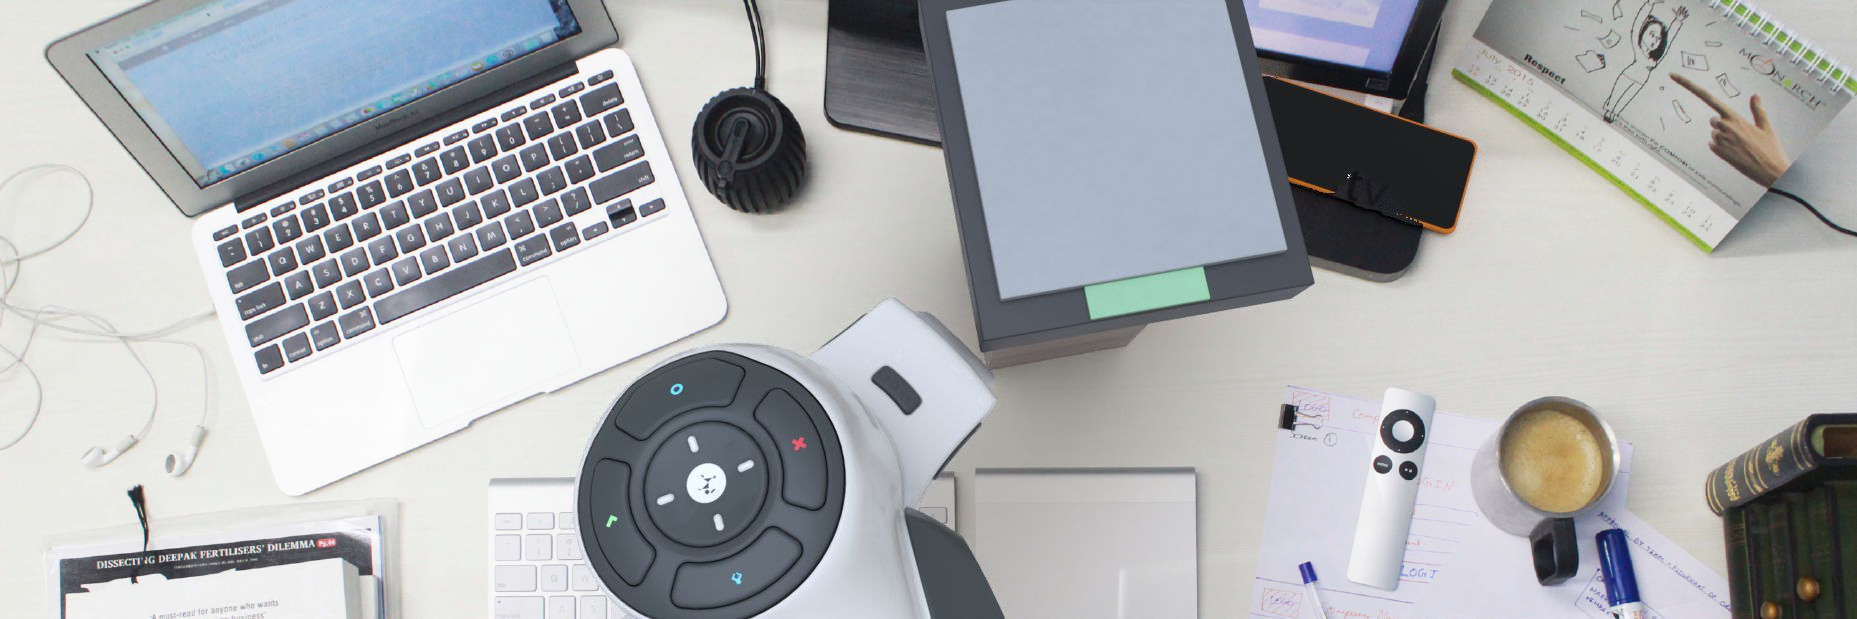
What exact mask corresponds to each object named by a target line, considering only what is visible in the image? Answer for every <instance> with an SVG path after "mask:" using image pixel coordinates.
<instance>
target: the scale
mask: <svg viewBox="0 0 1857 619" xmlns="http://www.w3.org/2000/svg"><path fill="white" fill-rule="evenodd" d="M917 7H918V23H919V29H920V34H921V39H922V45H923V46H922V47H923V50H924V57H925V61H926V66H927V72H928V78H929V83H930V88H931V94H932V100H933V104H934V110H935V115H936V121H937V126H938V132H939V137H940V142H941V147H942V154H943V158H944V163H945V169H946V174H947V179H948V185H949V191H950V196H951V201H952V207H953V213H954V218H955V223H956V228H957V232H958V238H959V239H958V240H959V244H960V249H961V250H960V251H961V256H962V260H963V266H964V272H965V276H966V283H967V286H968V294H969V298H970V304H971V309H972V314H973V319H974V324H975V331H976V335H977V336H976V337H977V340H978V347H979V352H980V353H983V354H984V352H989V351H995V350H1001V349H1007V348H1012V347H1018V346H1024V345H1030V344H1035V343H1041V342H1047V341H1052V340H1058V339H1064V338H1070V337H1075V336H1081V335H1087V334H1093V333H1098V332H1104V331H1110V330H1116V329H1121V328H1127V327H1133V326H1139V325H1144V324H1148V325H1150V324H1155V323H1162V322H1166V321H1173V320H1179V319H1185V318H1190V317H1196V316H1200V315H1201V316H1202V315H1207V314H1212V313H1219V312H1224V311H1229V310H1235V309H1242V308H1247V307H1253V306H1259V305H1265V304H1269V303H1276V302H1282V301H1287V300H1292V299H1293V298H1295V297H1297V296H1299V295H1300V294H1302V293H1303V292H1304V291H1306V290H1307V289H1309V288H1310V287H1312V286H1313V285H1315V282H1316V281H1315V278H1314V274H1313V270H1312V266H1311V262H1310V258H1309V255H1308V250H1307V247H1306V242H1305V238H1304V235H1303V231H1302V227H1301V223H1300V220H1299V216H1298V211H1297V206H1296V203H1295V198H1294V196H1293V191H1292V187H1291V183H1289V179H1288V175H1287V171H1286V167H1285V164H1284V160H1283V156H1282V152H1281V148H1280V144H1279V140H1278V136H1277V132H1276V128H1275V124H1274V120H1273V116H1272V113H1271V109H1270V105H1269V101H1268V97H1267V93H1266V89H1265V85H1264V81H1263V77H1262V73H1263V72H1262V70H1261V66H1260V62H1259V57H1258V53H1257V49H1256V46H1255V43H1254V42H1255V41H1254V38H1253V34H1252V30H1251V27H1250V22H1249V19H1248V16H1247V11H1246V8H1245V3H1244V0H917Z"/></svg>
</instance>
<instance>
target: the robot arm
mask: <svg viewBox="0 0 1857 619" xmlns="http://www.w3.org/2000/svg"><path fill="white" fill-rule="evenodd" d="M995 384H996V376H995V373H994V372H993V370H990V369H989V368H988V367H987V365H986V363H984V362H983V361H982V360H981V359H980V358H979V357H978V356H977V355H976V354H975V353H974V352H973V350H972V349H970V347H968V345H967V344H965V343H964V342H963V341H962V340H961V339H960V338H959V337H958V336H957V335H956V334H955V333H953V331H952V330H951V329H949V327H948V326H946V325H945V324H944V322H942V320H940V319H939V318H937V317H936V316H935V315H934V314H933V313H931V312H928V311H925V310H916V311H914V310H913V309H911V308H910V307H909V306H907V305H906V304H905V303H903V302H902V301H900V300H899V299H898V298H896V297H889V298H886V299H884V300H882V301H880V302H879V303H878V304H876V305H875V306H874V307H872V309H870V310H869V311H868V312H866V313H864V314H862V315H861V316H860V317H858V318H857V319H856V320H855V321H853V322H852V323H851V324H850V325H848V326H846V328H845V329H843V330H842V331H841V332H839V333H838V334H836V335H835V336H833V338H831V339H830V340H828V341H827V342H826V343H824V344H823V345H822V346H820V347H819V348H818V349H817V350H815V351H814V352H812V353H810V354H809V355H807V356H805V355H803V354H801V353H798V352H796V351H794V350H790V349H788V348H783V347H781V346H780V347H779V346H777V345H773V344H767V343H766V344H765V343H758V342H721V343H714V344H713V343H711V344H705V345H701V346H696V347H692V348H689V349H686V350H683V351H680V352H677V353H675V354H672V355H671V356H668V357H667V358H664V359H663V360H661V361H659V362H657V363H655V364H654V365H652V366H651V367H649V368H647V370H645V371H643V372H642V373H640V374H639V375H638V376H637V377H636V378H634V379H633V380H632V381H631V382H629V383H628V384H627V385H626V386H625V387H623V389H622V390H621V391H620V392H619V393H618V394H617V396H615V398H613V400H612V401H611V402H610V403H609V405H607V407H606V409H605V410H604V411H603V413H602V414H601V416H600V417H599V419H598V420H597V421H596V423H595V426H594V427H593V429H592V430H591V433H590V435H589V437H588V439H587V442H586V444H585V446H584V449H583V450H582V454H581V457H580V461H579V464H578V467H577V472H576V476H575V479H574V486H573V494H572V518H573V520H572V522H573V528H574V534H575V538H576V542H577V546H578V549H579V552H580V555H581V557H582V560H583V562H584V564H585V566H586V568H587V570H588V572H589V573H590V575H591V577H592V579H593V580H594V582H595V583H596V584H597V586H598V587H599V589H601V591H602V592H603V593H604V595H606V597H608V599H609V600H610V602H612V604H614V605H615V606H616V607H617V608H618V609H619V610H620V611H622V613H624V615H623V616H622V618H621V619H1006V617H1005V615H1004V612H1003V611H1002V608H1001V606H1000V604H999V601H998V599H997V598H996V595H995V593H994V592H993V589H992V587H991V585H990V583H989V581H988V579H987V577H986V576H985V574H984V571H983V569H982V568H981V566H980V563H979V562H978V561H977V558H976V557H975V555H974V553H973V551H972V549H971V548H970V546H969V545H968V543H967V541H966V539H965V538H964V537H963V535H960V534H959V533H958V532H957V531H954V529H952V528H950V527H949V526H948V525H946V524H944V523H943V522H940V521H939V520H937V519H936V518H934V517H932V516H930V515H928V514H926V513H925V512H922V511H920V510H918V508H919V506H920V504H921V502H922V500H923V498H924V497H925V494H926V493H927V491H928V490H929V488H930V486H931V485H932V483H933V481H937V479H939V478H940V476H941V474H942V473H943V472H944V470H945V469H946V468H947V466H948V465H949V464H950V463H951V461H952V460H953V459H954V457H955V456H956V455H957V454H958V452H960V450H961V449H962V448H963V447H964V446H965V444H966V443H967V442H969V440H970V439H971V438H972V437H973V436H974V435H975V434H976V432H977V431H978V430H979V429H980V428H981V427H982V425H983V424H982V423H983V422H984V421H985V420H986V419H987V418H988V417H989V416H990V415H991V414H992V412H993V411H994V410H995V407H996V406H997V403H998V397H997V396H996V395H995V393H994V392H993V388H994V386H995Z"/></svg>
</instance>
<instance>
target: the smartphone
mask: <svg viewBox="0 0 1857 619" xmlns="http://www.w3.org/2000/svg"><path fill="white" fill-rule="evenodd" d="M1262 77H1263V81H1264V85H1265V89H1266V93H1267V97H1268V101H1269V105H1270V109H1271V113H1272V116H1273V120H1274V124H1275V128H1276V132H1277V136H1278V140H1279V144H1280V148H1281V152H1282V156H1283V160H1284V164H1285V167H1286V171H1287V175H1288V179H1289V182H1291V183H1290V184H1292V183H1293V184H1292V185H1295V184H1297V185H1296V186H1298V185H1301V186H1305V187H1307V188H1312V189H1313V190H1317V191H1319V192H1323V193H1335V191H1334V189H1336V187H1335V186H1337V187H1339V186H1338V185H1341V184H1342V185H1345V184H1344V183H1345V182H1346V181H1348V179H1347V177H1349V176H1348V174H1349V175H1350V173H1349V172H1352V171H1353V172H1356V171H1355V170H1357V171H1359V170H1360V171H1362V172H1363V173H1365V172H1367V174H1370V173H1371V174H1370V177H1372V176H1371V175H1373V176H1374V178H1376V180H1377V181H1379V182H1380V183H1381V184H1382V185H1384V184H1383V183H1385V185H1387V183H1388V184H1389V185H1390V186H1391V187H1392V189H1393V190H1394V191H1395V192H1394V191H1393V190H1392V189H1391V188H1390V187H1389V186H1388V187H1389V188H1390V191H1392V192H1393V194H1392V193H1391V192H1390V191H1389V192H1390V193H1391V194H1392V195H1393V196H1394V195H1395V196H1396V198H1398V200H1399V201H1400V202H1401V204H1403V206H1404V207H1405V208H1406V210H1408V212H1407V211H1406V210H1405V208H1404V207H1403V206H1402V205H1401V204H1400V202H1399V201H1398V200H1397V199H1396V198H1395V200H1397V201H1398V204H1400V207H1403V210H1405V213H1408V217H1410V220H1412V218H1413V219H1414V221H1416V222H1417V220H1418V221H1419V223H1422V224H1423V227H1422V228H1425V229H1428V230H1431V231H1434V232H1437V233H1440V234H1443V235H1449V234H1452V233H1454V232H1455V230H1456V229H1457V226H1458V222H1459V221H1458V220H1459V218H1460V215H1461V211H1462V207H1463V203H1464V200H1465V196H1466V193H1467V190H1468V186H1469V182H1470V178H1471V174H1472V171H1473V167H1474V164H1475V160H1476V156H1477V153H1478V145H1477V143H1476V142H1475V141H1474V140H1472V139H1470V138H1466V137H1463V136H1460V135H1457V134H1454V133H1451V132H1448V131H1445V130H1441V129H1439V128H1436V127H1432V126H1430V125H1425V124H1423V123H1420V122H1417V121H1413V120H1410V119H1407V118H1405V117H1402V116H1398V115H1395V114H1392V113H1389V112H1386V111H1383V110H1379V109H1377V108H1373V107H1371V106H1367V105H1364V104H1361V103H1358V102H1356V101H1352V100H1349V99H1345V98H1343V97H1340V96H1337V95H1334V94H1330V93H1327V92H1325V91H1321V90H1318V89H1316V88H1312V87H1309V86H1306V85H1302V84H1300V83H1297V82H1293V81H1291V80H1287V79H1284V78H1281V77H1278V78H1275V77H1276V76H1275V77H1271V76H1264V75H1262ZM1357 168H1358V169H1357ZM1361 168H1362V169H1361ZM1354 169H1355V170H1354ZM1363 170H1365V172H1364V171H1363ZM1367 170H1368V171H1367ZM1360 171H1359V172H1360ZM1371 171H1372V172H1371ZM1353 172H1352V173H1353ZM1369 172H1370V173H1369ZM1373 173H1375V175H1374V174H1373ZM1367 174H1366V173H1365V175H1366V177H1369V176H1368V175H1367ZM1358 175H1359V174H1358ZM1362 175H1363V174H1362ZM1363 176H1364V175H1363ZM1376 176H1377V177H1376ZM1366 177H1365V179H1367V178H1366ZM1370 177H1369V179H1370V180H1371V178H1370ZM1374 178H1373V177H1372V180H1375V179H1374ZM1379 179H1380V180H1379ZM1367 180H1368V179H1367ZM1376 180H1375V182H1377V181H1376ZM1360 181H1361V180H1360ZM1364 181H1365V180H1364ZM1343 182H1344V183H1343ZM1368 182H1370V181H1369V180H1368ZM1372 182H1373V181H1372ZM1382 182H1383V183H1382ZM1389 182H1390V183H1389ZM1346 183H1347V182H1346ZM1377 183H1378V182H1377ZM1374 184H1375V183H1374ZM1391 184H1392V185H1393V186H1392V185H1391ZM1342 185H1341V186H1342ZM1378 185H1380V184H1379V183H1378ZM1385 185H1384V187H1386V186H1385ZM1301 186H1300V187H1301ZM1342 187H1343V186H1342ZM1380 187H1382V186H1381V185H1380ZM1307 188H1306V189H1307ZM1340 189H1341V188H1340ZM1313 190H1312V191H1313ZM1337 190H1338V189H1337ZM1387 190H1388V189H1387ZM1397 191H1398V192H1397ZM1319 192H1318V193H1319ZM1385 192H1386V191H1385ZM1386 193H1387V192H1386ZM1395 193H1397V195H1399V197H1400V198H1399V197H1398V196H1397V195H1396V194H1395ZM1388 195H1389V194H1388ZM1390 197H1391V196H1390ZM1391 198H1392V197H1391ZM1401 199H1402V201H1403V202H1405V204H1404V203H1403V202H1402V201H1401ZM1390 202H1391V200H1390ZM1394 203H1396V202H1395V201H1394ZM1385 204H1386V203H1385ZM1398 204H1397V203H1396V205H1397V206H1398ZM1386 205H1387V204H1386ZM1393 205H1394V204H1393ZM1406 205H1407V206H1406ZM1394 206H1395V205H1394ZM1398 207H1399V206H1398ZM1400 207H1399V210H1401V211H1402V212H1403V210H1402V209H1401V208H1400ZM1407 207H1408V208H1407ZM1381 208H1382V207H1381ZM1388 208H1389V207H1388ZM1392 208H1393V207H1392ZM1385 209H1386V208H1385ZM1389 209H1390V208H1389ZM1393 209H1394V208H1393ZM1395 209H1396V210H1398V209H1397V208H1396V206H1395ZM1390 210H1391V209H1390ZM1399 210H1398V212H1400V211H1399ZM1391 211H1392V210H1391ZM1395 212H1396V211H1395ZM1403 213H1404V212H1403ZM1405 213H1404V215H1406V214H1405ZM1412 213H1413V214H1412ZM1397 215H1398V213H1397ZM1400 215H1402V214H1401V212H1400ZM1410 215H1411V216H1410ZM1408 217H1407V215H1406V218H1408Z"/></svg>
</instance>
